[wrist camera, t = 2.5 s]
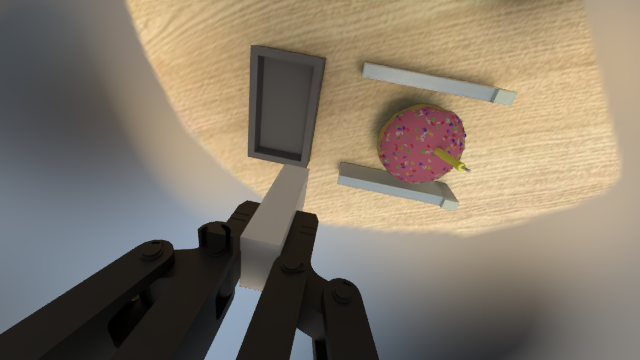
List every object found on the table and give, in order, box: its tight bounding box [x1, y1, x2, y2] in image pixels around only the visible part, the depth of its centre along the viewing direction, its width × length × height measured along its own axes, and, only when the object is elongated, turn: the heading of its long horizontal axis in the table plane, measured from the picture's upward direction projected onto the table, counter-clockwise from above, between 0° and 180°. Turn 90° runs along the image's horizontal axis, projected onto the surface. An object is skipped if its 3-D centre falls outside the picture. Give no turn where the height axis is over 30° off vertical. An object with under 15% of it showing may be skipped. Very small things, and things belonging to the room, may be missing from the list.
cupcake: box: [377, 104, 471, 184], centre depth 25 cm, size 9×8×12 cm
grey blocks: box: [338, 62, 517, 211], centre depth 28 cm, size 13×14×5 cm
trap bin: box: [248, 45, 326, 168], centre depth 29 cm, size 13×8×2 cm, turn 171°
